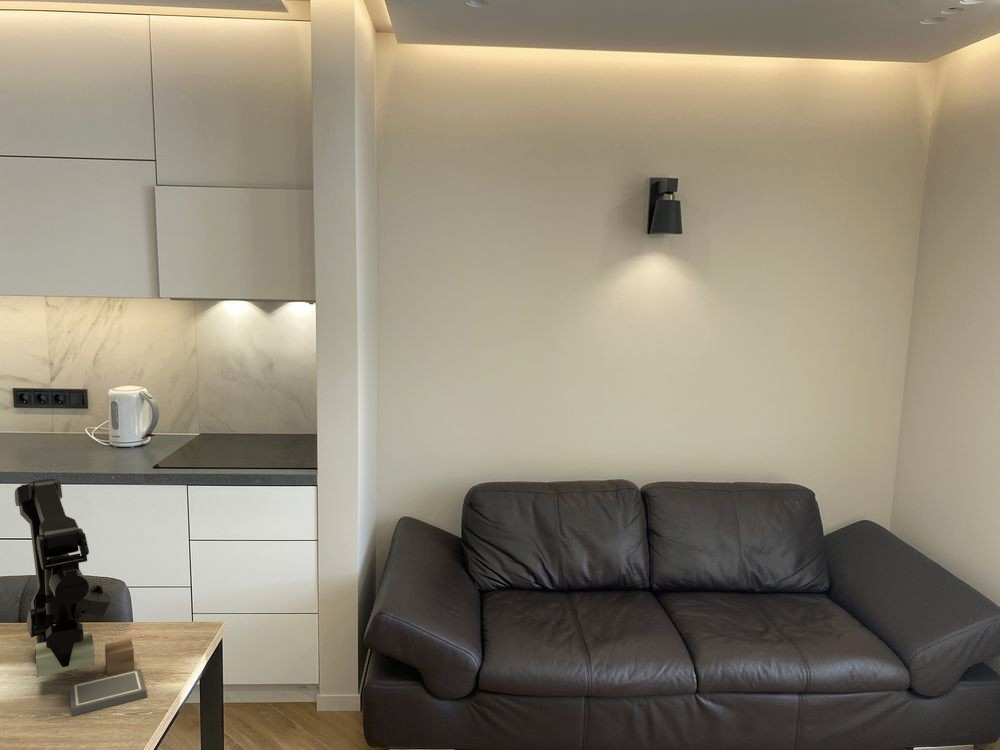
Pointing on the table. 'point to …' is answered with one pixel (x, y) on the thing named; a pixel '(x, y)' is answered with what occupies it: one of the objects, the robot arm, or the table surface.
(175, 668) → the table surface
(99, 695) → the plinth
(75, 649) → the sage block
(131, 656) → the walnut cube
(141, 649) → the table surface
